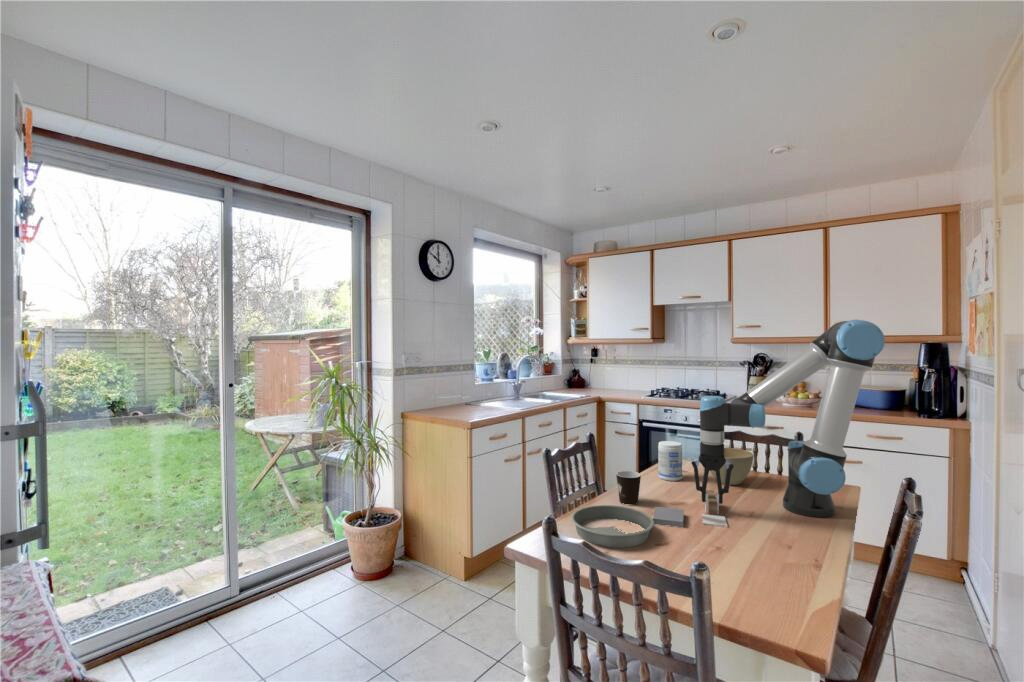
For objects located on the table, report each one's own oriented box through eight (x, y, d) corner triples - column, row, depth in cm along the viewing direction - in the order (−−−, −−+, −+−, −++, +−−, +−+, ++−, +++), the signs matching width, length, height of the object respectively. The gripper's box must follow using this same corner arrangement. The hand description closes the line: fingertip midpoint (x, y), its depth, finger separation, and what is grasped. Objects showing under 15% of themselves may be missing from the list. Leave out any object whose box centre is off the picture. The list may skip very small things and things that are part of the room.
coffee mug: (641, 506, 167) (641, 478, 167) (616, 505, 168) (616, 477, 168) (639, 496, 178) (639, 469, 178) (616, 494, 180) (615, 468, 180)
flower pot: (738, 475, 203) (738, 446, 203) (763, 488, 185) (762, 457, 185) (697, 476, 202) (696, 447, 202) (717, 489, 184) (717, 458, 184)
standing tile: (655, 506, 162) (653, 518, 151) (683, 509, 158) (683, 522, 148) (655, 513, 162) (653, 525, 151) (683, 516, 158) (683, 529, 148)
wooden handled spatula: (699, 503, 169) (699, 489, 169) (721, 505, 167) (720, 491, 167) (703, 524, 150) (703, 509, 150) (727, 527, 148) (727, 511, 148)
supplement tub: (672, 483, 193) (672, 446, 193) (653, 477, 201) (653, 442, 201) (687, 478, 199) (686, 443, 199) (667, 473, 207) (667, 439, 207)
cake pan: (669, 532, 145) (669, 517, 145) (624, 559, 128) (624, 542, 128) (602, 512, 163) (601, 498, 163) (554, 533, 146) (554, 518, 146)
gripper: (736, 441, 161) (736, 511, 162) (686, 438, 166) (686, 505, 167) (739, 446, 154) (739, 519, 155) (687, 443, 159) (687, 513, 159)
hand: (711, 512), depth 161 cm, fingers open, 3 cm apart
